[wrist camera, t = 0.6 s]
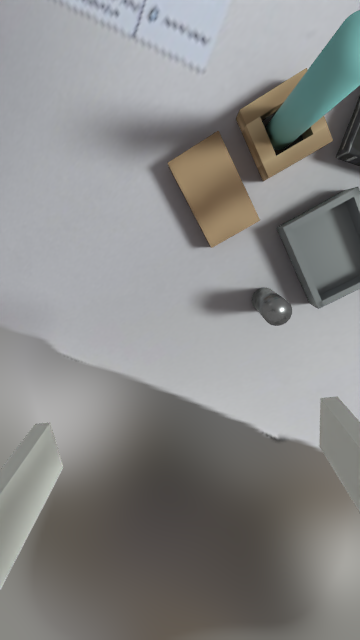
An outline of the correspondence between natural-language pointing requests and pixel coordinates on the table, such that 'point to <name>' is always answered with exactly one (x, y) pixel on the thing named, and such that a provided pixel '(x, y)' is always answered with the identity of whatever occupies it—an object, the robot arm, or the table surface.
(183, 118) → the table surface
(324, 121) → the socket block
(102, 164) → the table surface
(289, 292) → the table surface
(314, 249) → the tray
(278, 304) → the bench dog
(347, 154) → the box
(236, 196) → the tan block
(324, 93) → the dowel
